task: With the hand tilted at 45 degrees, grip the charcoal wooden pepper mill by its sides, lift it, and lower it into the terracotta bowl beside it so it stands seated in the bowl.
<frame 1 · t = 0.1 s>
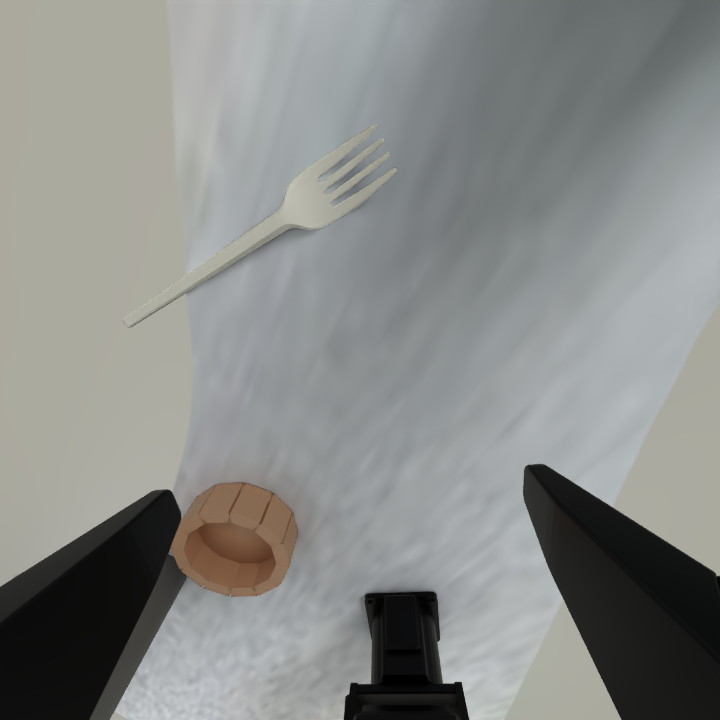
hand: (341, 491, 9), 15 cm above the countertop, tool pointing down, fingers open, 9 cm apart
off-white fork: (244, 247, 22), on the countertop
pepper mill: (159, 570, 32), on the countertop
terracotta bowl: (244, 525, 29), on the countertop
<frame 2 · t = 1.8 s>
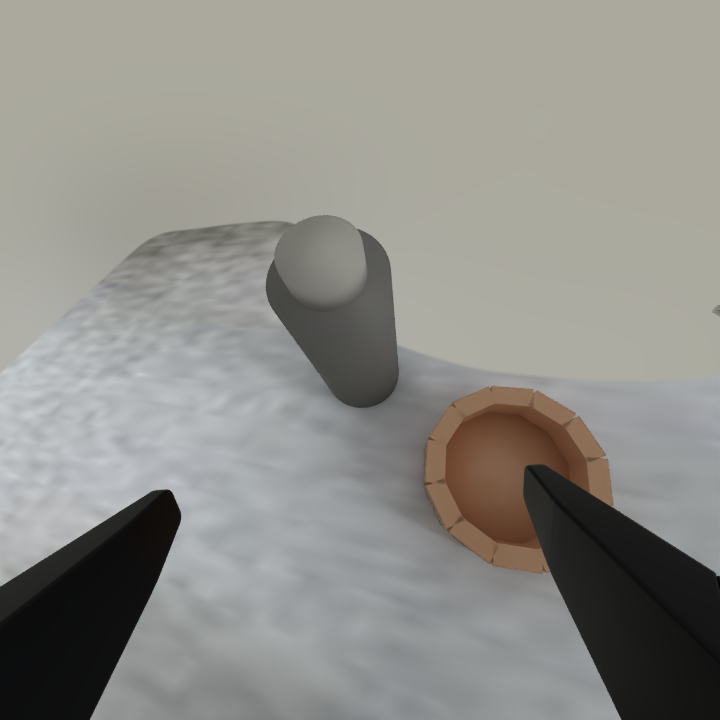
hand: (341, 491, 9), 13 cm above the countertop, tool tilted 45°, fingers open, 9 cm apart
pepper mill: (362, 372, 24), on the countertop
terracotta bowl: (500, 474, 21), on the countertop
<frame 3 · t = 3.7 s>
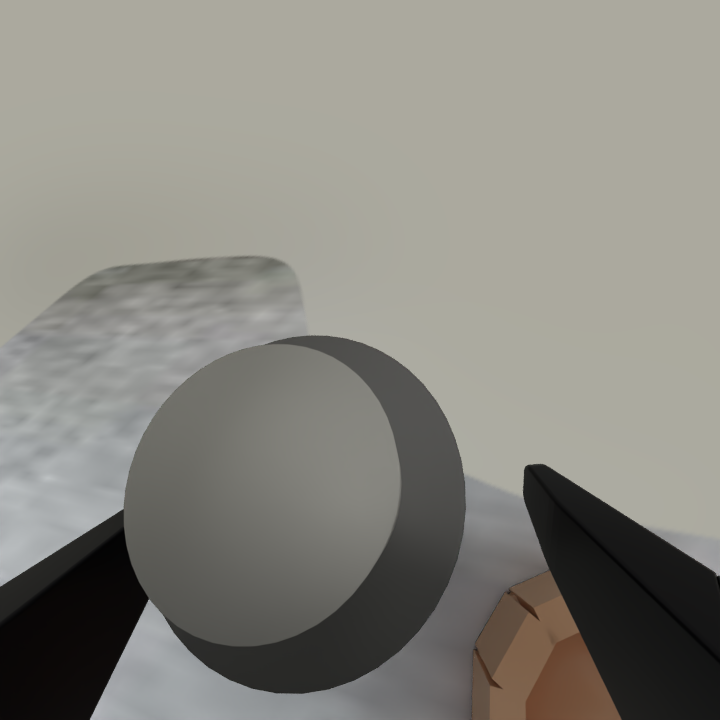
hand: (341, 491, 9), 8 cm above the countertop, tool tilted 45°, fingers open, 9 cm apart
pepper mill: (371, 500, 16), on the countertop
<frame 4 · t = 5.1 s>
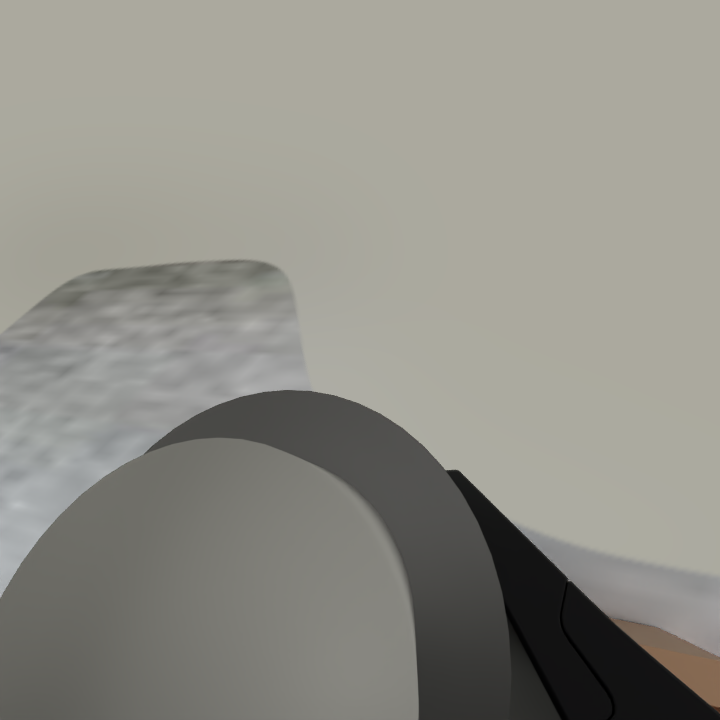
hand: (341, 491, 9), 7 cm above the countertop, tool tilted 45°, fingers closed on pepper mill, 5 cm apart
pepper mill: (371, 534, 14), on the countertop, touching gripper
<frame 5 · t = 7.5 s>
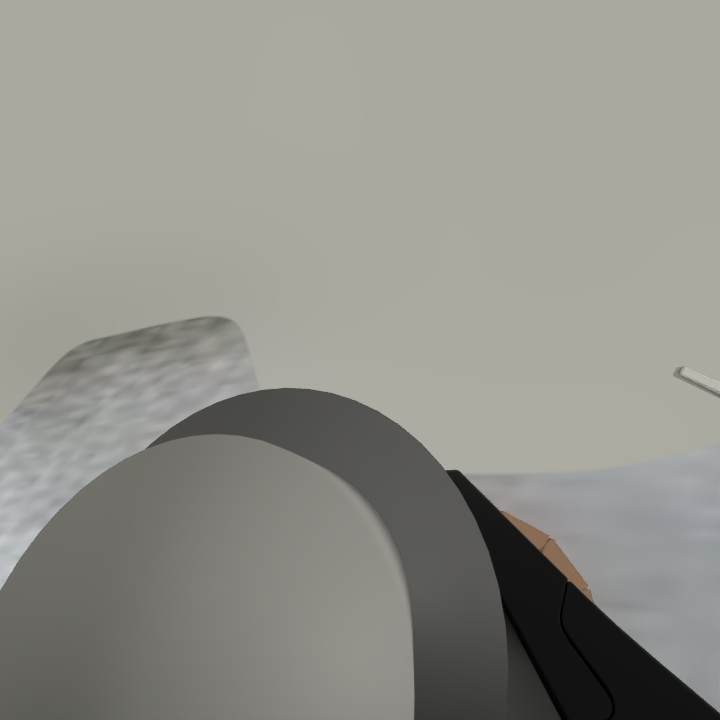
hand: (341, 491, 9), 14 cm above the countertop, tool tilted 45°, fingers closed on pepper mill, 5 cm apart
pepper mill: (370, 533, 14), point 7 cm above the countertop, touching gripper
terracotta bowl: (479, 601, 19), on the countertop
when the fingers open (9 cm above the countertop, at t = 10.0 s): pepper mill drops 1 cm, resting on terracotta bowl.
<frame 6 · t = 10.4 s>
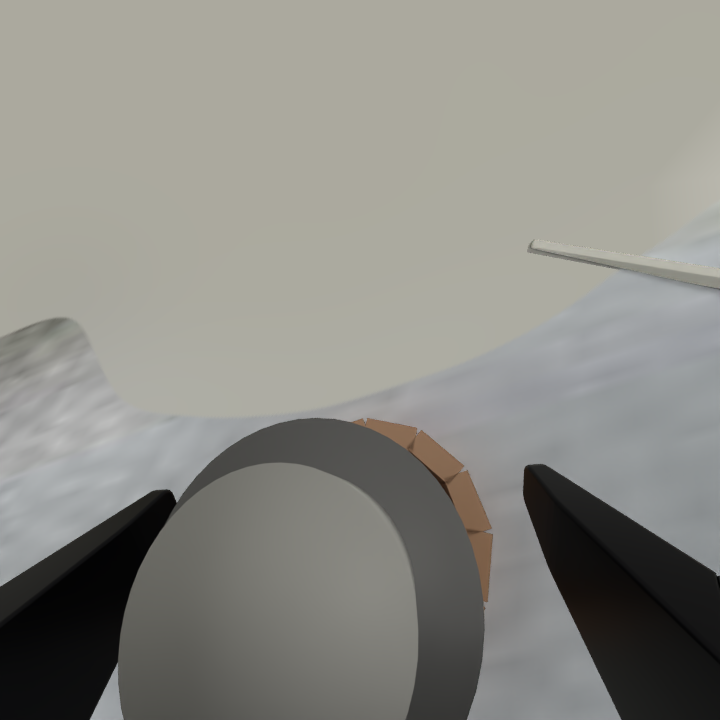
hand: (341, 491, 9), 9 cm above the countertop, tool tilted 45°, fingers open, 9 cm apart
off-white fork: (713, 288, 19), on the countertop
pepper mill: (375, 532, 15), point 1 cm above the countertop, touching terracotta bowl
terracotta bowl: (376, 530, 16), on the countertop
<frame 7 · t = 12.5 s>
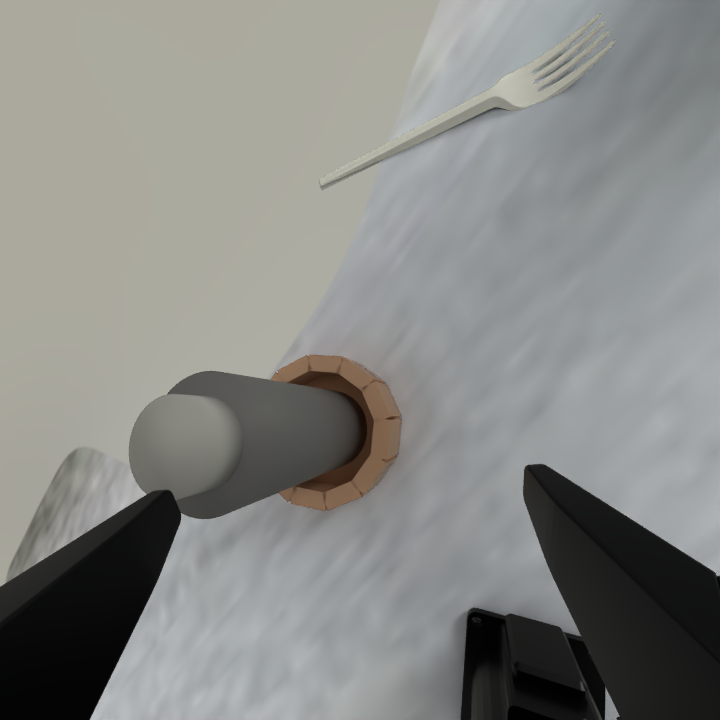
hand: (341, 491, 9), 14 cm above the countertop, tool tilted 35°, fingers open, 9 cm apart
off-white fork: (444, 131, 25), on the countertop
pepper mill: (331, 428, 23), point 1 cm above the countertop, touching terracotta bowl
terracotta bowl: (335, 427, 24), on the countertop
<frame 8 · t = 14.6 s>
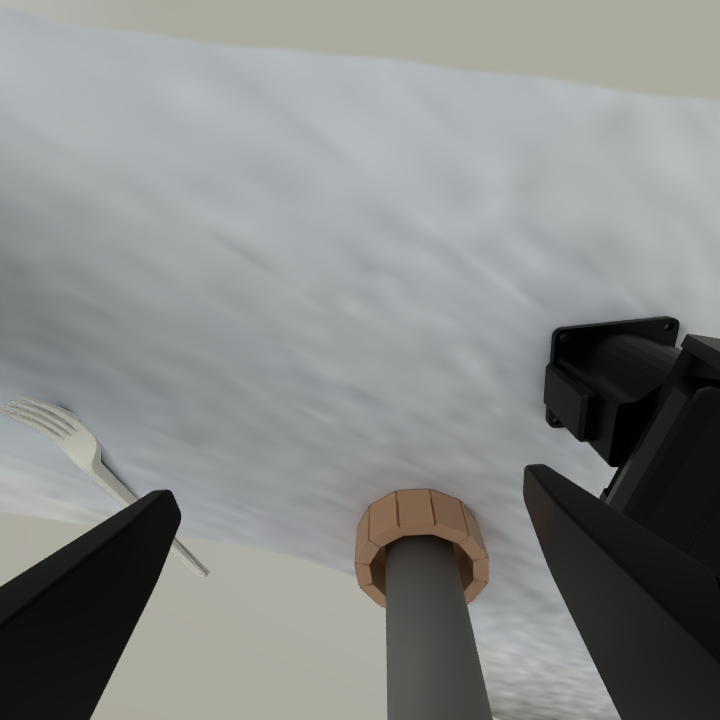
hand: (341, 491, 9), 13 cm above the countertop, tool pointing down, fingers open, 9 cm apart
off-white fork: (132, 489, 27), on the countertop
pepper mill: (418, 544, 26), point 1 cm above the countertop, touching terracotta bowl
terracotta bowl: (417, 535, 27), on the countertop
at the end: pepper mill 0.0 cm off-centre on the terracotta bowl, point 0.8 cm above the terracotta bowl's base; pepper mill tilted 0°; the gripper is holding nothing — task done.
